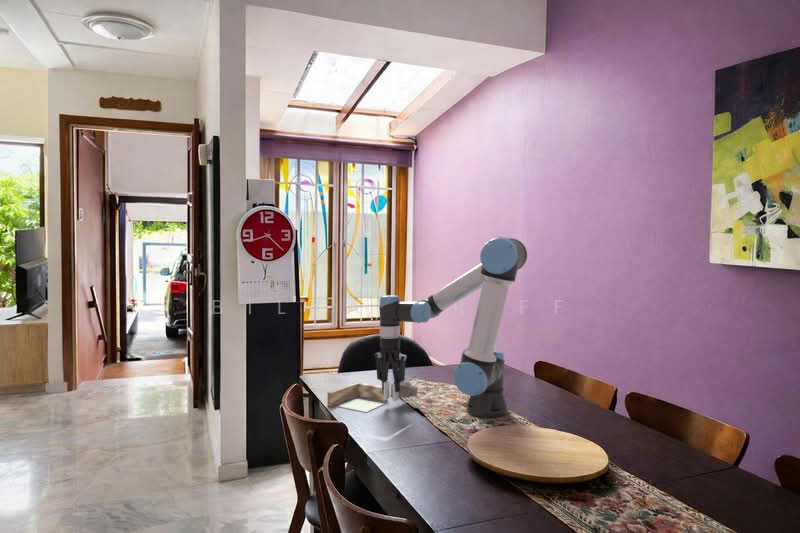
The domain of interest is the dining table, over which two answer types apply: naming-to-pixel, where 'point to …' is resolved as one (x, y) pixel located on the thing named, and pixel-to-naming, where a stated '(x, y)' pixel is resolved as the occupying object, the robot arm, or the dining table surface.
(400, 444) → the dining table surface
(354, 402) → the pad
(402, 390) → the stone
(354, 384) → the arena
